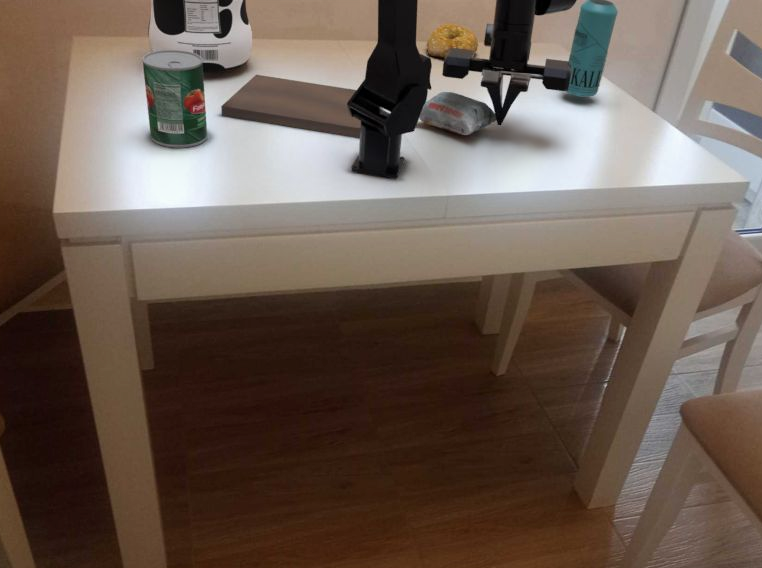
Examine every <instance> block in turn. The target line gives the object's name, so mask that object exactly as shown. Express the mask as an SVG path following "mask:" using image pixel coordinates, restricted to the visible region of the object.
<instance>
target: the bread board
mask: <svg viewBox="0 0 762 568" xmlns="http://www.w3.org/2000/svg"><path fill="white" fill-rule="evenodd" d="M356 90H357V89H352V88H345V87H339V86H333V85H326V84H321V83H314V82H307V81H301V80H294V79H293V80H292V79H287V78H281V77H274V76H267V75H260V74H255V75H254V76H253V77H252V78H251V79H249V80H248V82H246V83H245V84H244V85H243V86H242V87H241V88H239V89H238V90H237V91H236V92H235V93H234V94H233V95H232V96H231V97H230V98H229V99H227V100H226V101H225V102H224V103H222V105H221V106H220V107H221V116H223V117H229V118H235V119H241V120H247V121H252V122H260V123H265V124H266V123H267V124H273V125H279V126H286V127H290V128H297V129H303V130H310V131H315V132H322V133H329V134H333V135H334V134H335V135H340V136H345V137H346V136H347V137H353V138H359V139H360V128H361V121H360V120H358V119H356V118H355V117H351V116H350V114H349V110H348V106H347V102H348V101H349V100H350V98H351V97H352V96H353V94H354V93H355V92H356Z"/></svg>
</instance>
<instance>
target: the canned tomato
mask: <svg viewBox="0 0 762 568" xmlns="http://www.w3.org/2000/svg"><path fill="white" fill-rule="evenodd" d="M141 62H142V68H143V78H144V86H145V87H144V88H145V96H146V97H145V98H146V104H147V105H146V106H147V114H148V123H149V131H150V135H149V136H150V139H151V141H152V142H154V143H155V144H157V145H159V146H163V147H168V148H175V149H178V148H180V149H181V148H191V147H195V146H198V145H201V144H202V143H204V142H206V140H207V139H208V129H207V127H208V125H207V112H206V111H207V110H206V96H205V81H204V80H205V79H204V78H205V77H204V73H203V59H202V57H200V56H199V55H197V54H195V53H192V52H187V51H180V50H160V51H154V52H152V51H151V52H147V53H146V54H143V56H142V57H141Z"/></svg>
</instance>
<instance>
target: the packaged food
mask: <svg viewBox="0 0 762 568" xmlns="http://www.w3.org/2000/svg"><path fill="white" fill-rule="evenodd" d="M419 120H420V121H421V122H423V123H424V124H425V125H426V124H427V125H429V126H433V127H435V128H439V129H442V130H445V131H447V132H449V133H453V134H457V135H461V136H468V135H471V134H473V133H474V132H477V131H478V130H480V129H483V128H485V127H487V126H491V125H492V124H493V123H495V122H497V120H496V116H495V111H494V110H493V109H492V108H491V107H490V106H489V105H488V104H487V103H485V102H483V101H480V100H477V99H474V98H471V97H468V96H465V95H463V94H460V93H458V92H457V93H456V92H454V91H453V92H452V91H442V92H439V93H438V94H435V95H434V96H432V97H431V98H429V99H428V100H426V103H425V105H424V106H423V109H422V111H421V114H420V117H419Z"/></svg>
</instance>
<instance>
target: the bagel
mask: <svg viewBox="0 0 762 568" xmlns="http://www.w3.org/2000/svg"><path fill="white" fill-rule="evenodd" d="M426 47H427V52H428V54H429V55H430V56H432V57H437V58H438V57H439V58H441V59H442V58H443V59H445V57H446V55H447V53H448V51H449V50H450V49H452V48H458V49H467V50H474V55H475V54H476V53H477V51H478V48H479V42H478V38H477V35H476V34H475V33H474V32H473V31H472V30H470V29H468V28H467V27H465V26H462V25H460V24H457V23H448V24H447V23H446V24H441V25H439V26H438V27H436V29H435V30H433V31H432V32H431V34H430V36H429V37H428V39H427V42H426Z"/></svg>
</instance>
